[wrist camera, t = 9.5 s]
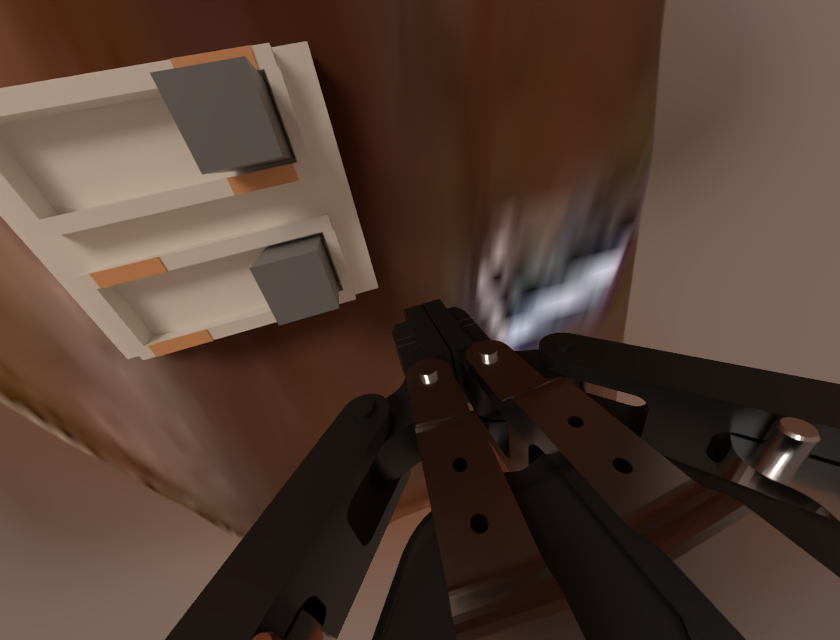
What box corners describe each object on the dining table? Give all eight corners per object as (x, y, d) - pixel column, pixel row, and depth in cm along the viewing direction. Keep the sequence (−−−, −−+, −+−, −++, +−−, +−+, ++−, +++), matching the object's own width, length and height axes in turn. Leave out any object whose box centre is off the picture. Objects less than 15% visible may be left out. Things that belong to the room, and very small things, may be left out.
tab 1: (195, 95, 17) (149, 72, 13) (266, 82, 17) (245, 55, 13) (231, 171, 19) (201, 174, 15) (293, 157, 19) (283, 156, 15)
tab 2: (266, 247, 22) (249, 268, 17) (320, 233, 22) (317, 250, 18) (288, 295, 24) (278, 325, 19) (338, 282, 24) (339, 308, 20)
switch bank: (-49, 115, 16) (-137, 104, 13) (309, 52, 19) (304, 30, 16) (141, 345, 25) (114, 371, 21) (375, 279, 27) (381, 294, 24)
